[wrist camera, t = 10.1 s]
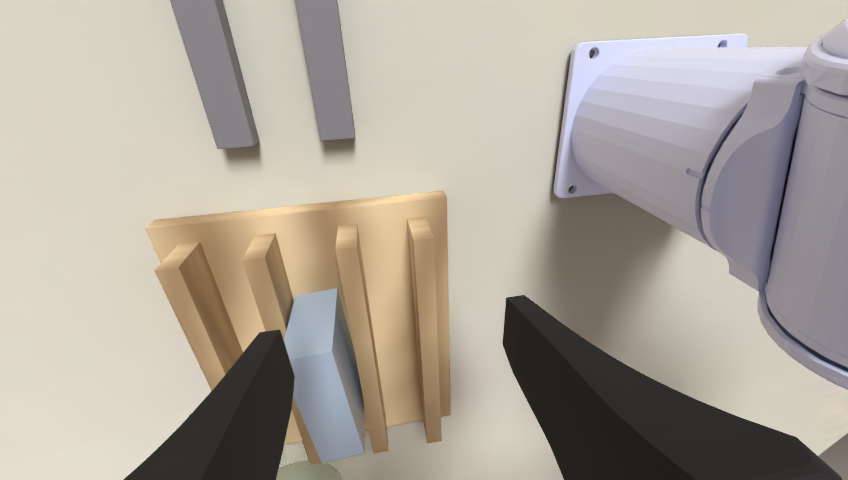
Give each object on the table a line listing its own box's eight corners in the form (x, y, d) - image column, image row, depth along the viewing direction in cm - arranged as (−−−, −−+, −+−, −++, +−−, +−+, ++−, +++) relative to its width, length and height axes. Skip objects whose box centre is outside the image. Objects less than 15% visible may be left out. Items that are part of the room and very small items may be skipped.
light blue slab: (337, 288, 21) (331, 351, 16) (363, 382, 25) (364, 453, 20) (295, 295, 21) (278, 361, 16) (328, 389, 24) (321, 463, 20)
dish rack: (442, 191, 20) (457, 216, 17) (447, 404, 29) (458, 446, 26) (155, 220, 18) (114, 254, 15) (251, 438, 27) (237, 487, 24)
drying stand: (322, -108, 14) (320, -118, 13) (355, 133, 18) (354, 137, 17) (147, -108, 13) (132, -119, 12) (224, 143, 17) (217, 148, 16)
